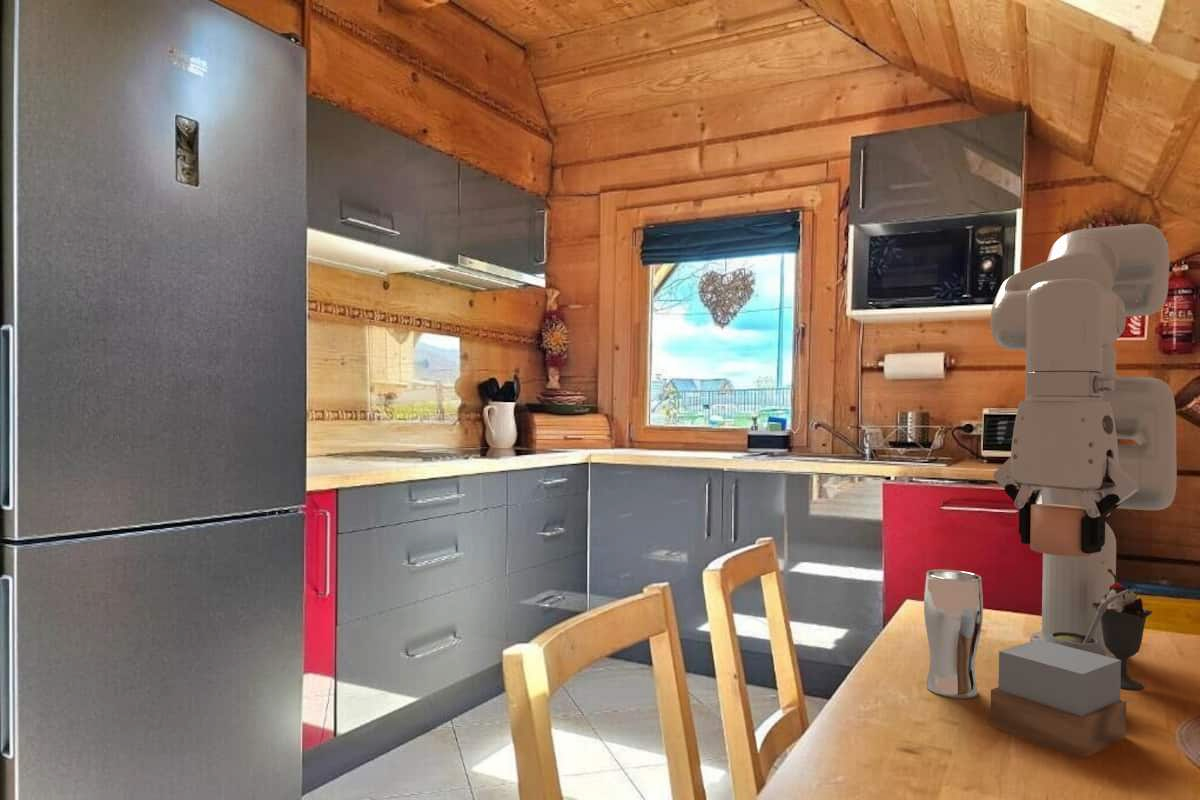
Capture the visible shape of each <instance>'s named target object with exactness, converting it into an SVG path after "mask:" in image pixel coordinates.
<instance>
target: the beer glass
mask: <svg viewBox="0 0 1200 800" xmlns="http://www.w3.org/2000/svg"><path fill="white" fill-rule="evenodd" d="M925 574H926V575H925V577H926V578H925V587H924V598H923V611H924V612H923V615H924V623H925V631H926V637H927V642H928V643H927V644H928V648H929V659H930V660H929V669H928V675H927V678H926V685H925V686H926V688H927V689H928V690H929V691H930V692H932V693H934V694H936V695H939V696H942V697H946V698H951V699H958V700H959V699H963V700H964V699H966V700H967V699H973V698H975V697H977V696H978V693H979V692H978V691H979V690H978V684H977V683H978V682H977V678H976V672H975V671H976V668H975V667H976V656H977V651H978V647H979V646H978V645H979V641H980V637H981V632H982V625H983V619H984V618H983V615H984V601H983V599H984V598H983V586H982V585H983V584H982V583H983V582H982V576H981V575H979V574H976V573H973V572H969V571H963V570H955V569H931V570H928V571H926V573H925Z"/></svg>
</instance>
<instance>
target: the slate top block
mask: <svg viewBox="0 0 1200 800" xmlns="http://www.w3.org/2000/svg"><path fill="white" fill-rule="evenodd" d="M997 685H998V687H997V688H998V690H1000V691H1003V692H1006V693H1009V694H1012V695H1015V696H1018V697H1022V698H1025V699H1028V700H1031V701H1034V702H1037V703H1040V704H1044V705H1047V706H1050V707H1053V708H1056V709H1059V710H1062V711H1065V712H1069V713H1072V714H1075V715H1078V716H1081V717H1082V716H1084V715H1087V714H1089V713H1091V712H1094V711H1096V710H1098V709H1101V708H1103V707H1105V706H1108V705H1110V704H1112V703H1115V702H1117V701H1119V700H1120V699H1121V688H1120V685H1121V660H1119V659H1115V658H1111V657H1107V656H1103V655H1099V654H1095V653H1091V652H1087V651H1083V650H1079V649H1075V648H1071V647H1067V646H1064V645H1060V644H1056V643H1052V642H1048V641H1044V640H1040V639H1038V640H1035V641H1032V642H1030V641H1029V642H1025V643H1022V644H1018V645H1015V646H1013V647H1009V648H1005V649H1001V650H999V651H998V684H997Z"/></svg>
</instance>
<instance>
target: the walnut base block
mask: <svg viewBox="0 0 1200 800" xmlns="http://www.w3.org/2000/svg"><path fill="white" fill-rule="evenodd" d="M989 712H990V716H989V717H990V720H989V721H990V723H989V724H990V725H989V726H990V727H992V728H995V729H998V730H1001V731H1004V732H1005V733H1006V732H1007V733H1009V734H1011V735H1014V736H1018V737H1020V738H1023V739H1026V740H1029V741H1031V742H1034V743H1037V744H1040V745H1042V746H1045V747H1048V748H1051V749H1054V750H1057V751H1060V752H1062V753H1065V754H1068V755H1070V756H1073V757H1076V758H1079V759H1081V760H1082V759H1086V758H1087V757H1090V756H1092V755H1093V754H1096V753H1098V752H1100V751H1102V750H1104V749H1105V748H1108V747H1111V746H1112V745H1114V744H1116V743H1118V742H1120V741H1122V740H1124V739H1126V738H1127V736H1126V735H1127V732H1126V731H1127V700H1124V699H1121V698H1120V700H1119V701H1117V702H1115V703H1112V704H1110V705H1108V706H1105V707H1103V708H1101V709H1098V710H1096V711H1094V712H1091V713H1089V714H1087V715H1084V716H1082V717H1081V716H1078V715H1075V714H1072V713H1069V712H1065V711H1062V710H1059V709H1056V708H1053V707H1050V706H1047V705H1044V704H1040V703H1037V702H1034V701H1031V700H1028V699H1025V698H1022V697H1018V696H1015V695H1012V694H1009V693H1006V692H1003V691H1000V690H998V687H996V688H992V689H990V711H989Z"/></svg>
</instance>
